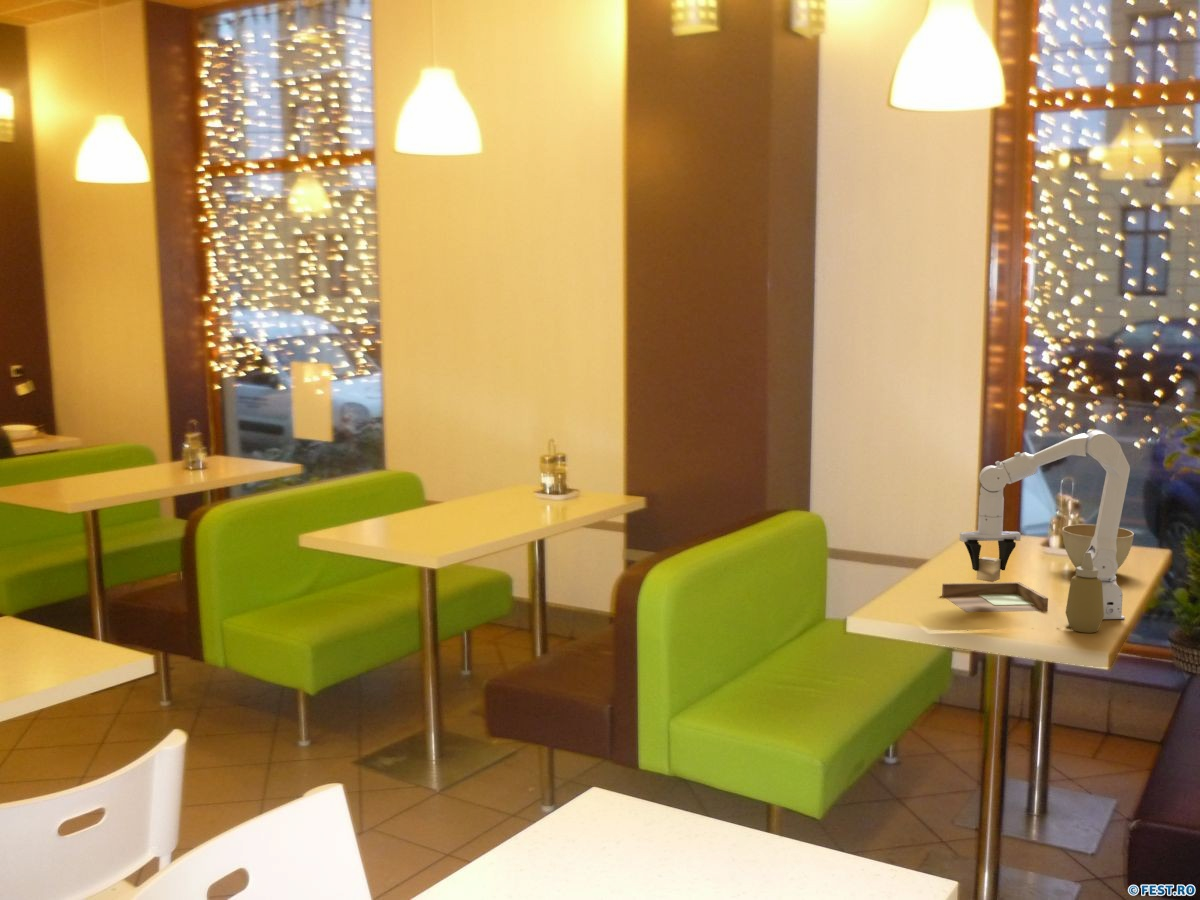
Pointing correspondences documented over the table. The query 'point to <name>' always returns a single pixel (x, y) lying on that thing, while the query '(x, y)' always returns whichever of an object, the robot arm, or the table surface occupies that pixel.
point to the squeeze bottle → (1085, 598)
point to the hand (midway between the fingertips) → (988, 569)
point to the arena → (994, 597)
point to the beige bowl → (1080, 540)
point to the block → (989, 569)
